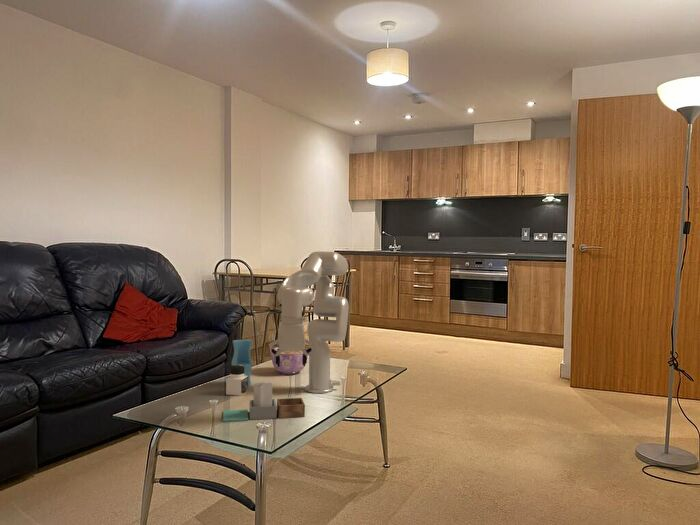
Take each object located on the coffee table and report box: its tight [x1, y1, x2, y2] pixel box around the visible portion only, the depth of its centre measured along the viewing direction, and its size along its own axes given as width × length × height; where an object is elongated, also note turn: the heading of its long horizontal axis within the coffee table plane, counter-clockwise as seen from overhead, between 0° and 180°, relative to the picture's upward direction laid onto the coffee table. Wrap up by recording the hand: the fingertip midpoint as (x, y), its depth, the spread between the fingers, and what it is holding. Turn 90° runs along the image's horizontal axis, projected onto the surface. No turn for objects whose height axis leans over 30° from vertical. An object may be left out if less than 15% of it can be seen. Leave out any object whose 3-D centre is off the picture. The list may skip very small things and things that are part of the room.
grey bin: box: [248, 398, 277, 421], centre depth 196 cm, size 10×10×4 cm
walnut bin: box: [276, 397, 306, 419], centre depth 199 cm, size 10×10×4 cm
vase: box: [231, 339, 253, 387], centre depth 241 cm, size 8×8×20 cm
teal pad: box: [222, 409, 249, 423], centre depth 194 cm, size 9×12×1 cm
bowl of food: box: [269, 346, 309, 375], centre depth 265 cm, size 20×20×12 cm
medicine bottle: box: [225, 365, 249, 397], centre depth 226 cm, size 7×7×12 cm
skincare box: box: [252, 380, 273, 407], centre depth 196 cm, size 6×4×12 cm
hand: (291, 365), depth 198 cm, fingers open, 9 cm apart
